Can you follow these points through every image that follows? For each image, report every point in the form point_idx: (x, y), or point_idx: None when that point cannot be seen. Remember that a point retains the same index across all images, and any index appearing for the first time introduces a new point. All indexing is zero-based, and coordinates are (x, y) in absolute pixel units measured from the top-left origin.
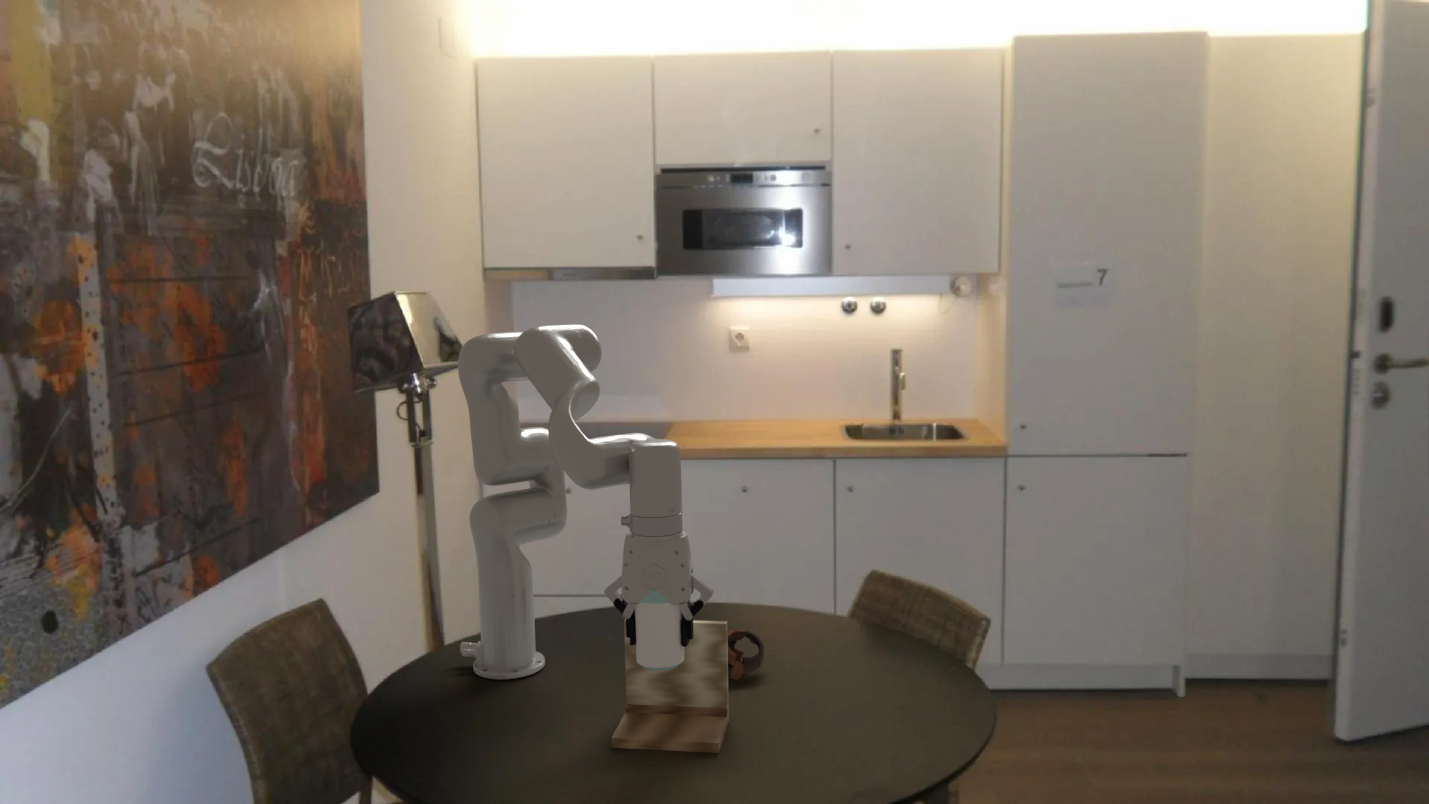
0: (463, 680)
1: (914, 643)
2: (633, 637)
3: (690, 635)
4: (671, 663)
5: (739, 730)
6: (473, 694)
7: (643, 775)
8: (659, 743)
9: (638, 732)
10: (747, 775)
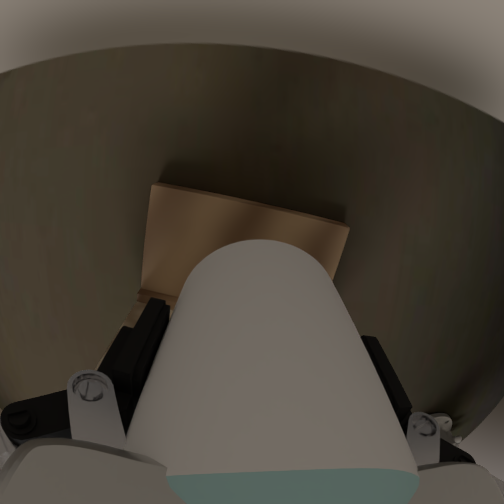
0: (462, 407)
1: None
2: (370, 354)
3: (124, 332)
4: (220, 252)
5: (126, 263)
6: (466, 381)
7: (293, 110)
8: (262, 205)
9: (300, 244)
10: (118, 101)
